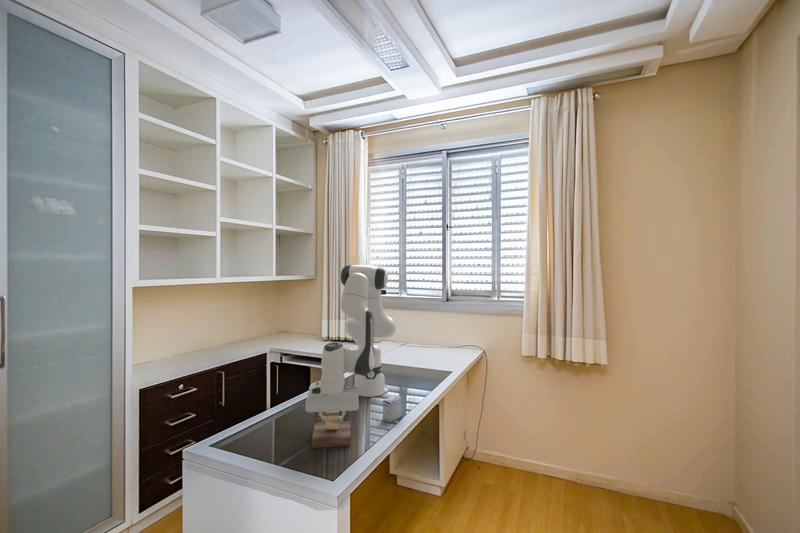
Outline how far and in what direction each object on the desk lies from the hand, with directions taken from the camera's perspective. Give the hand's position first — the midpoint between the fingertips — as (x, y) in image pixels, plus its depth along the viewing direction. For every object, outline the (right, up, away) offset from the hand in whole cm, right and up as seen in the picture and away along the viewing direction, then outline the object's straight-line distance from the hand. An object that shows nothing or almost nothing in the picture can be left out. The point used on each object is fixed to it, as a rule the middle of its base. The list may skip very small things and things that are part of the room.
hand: (332, 421), depth 143 cm
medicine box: (+23, -6, +18) cm, 30 cm away
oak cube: (0, -2, 0) cm, 2 cm away
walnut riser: (0, -6, 0) cm, 6 cm away
